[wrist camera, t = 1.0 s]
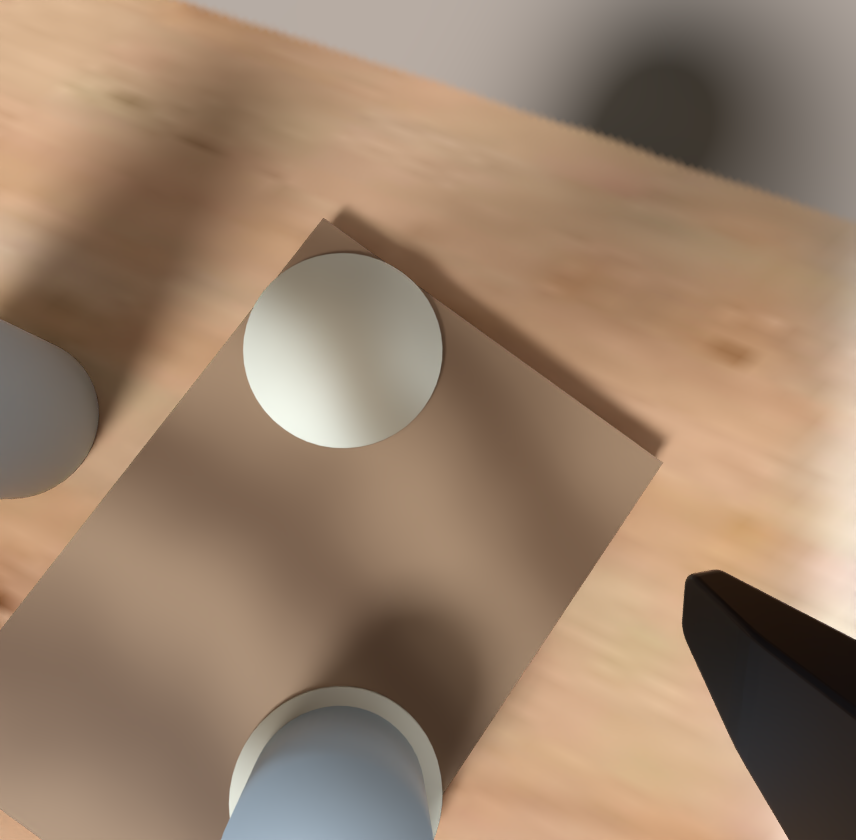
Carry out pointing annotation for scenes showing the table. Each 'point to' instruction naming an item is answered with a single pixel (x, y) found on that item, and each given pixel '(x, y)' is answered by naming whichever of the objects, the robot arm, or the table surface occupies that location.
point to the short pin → (334, 782)
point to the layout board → (307, 558)
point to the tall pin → (41, 414)
